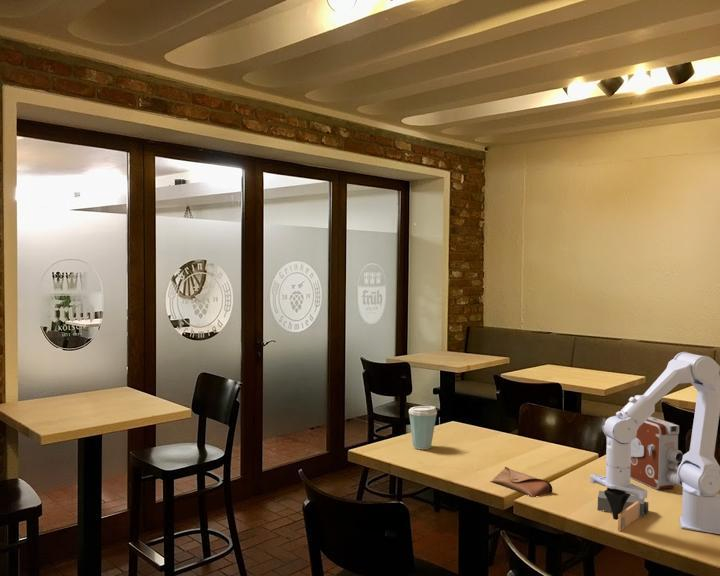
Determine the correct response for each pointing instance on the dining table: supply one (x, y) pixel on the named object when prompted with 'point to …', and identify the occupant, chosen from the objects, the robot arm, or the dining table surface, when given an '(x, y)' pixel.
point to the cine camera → (656, 454)
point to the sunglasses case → (522, 483)
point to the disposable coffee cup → (422, 425)
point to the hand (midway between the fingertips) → (616, 518)
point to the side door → (628, 515)
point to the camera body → (604, 505)
